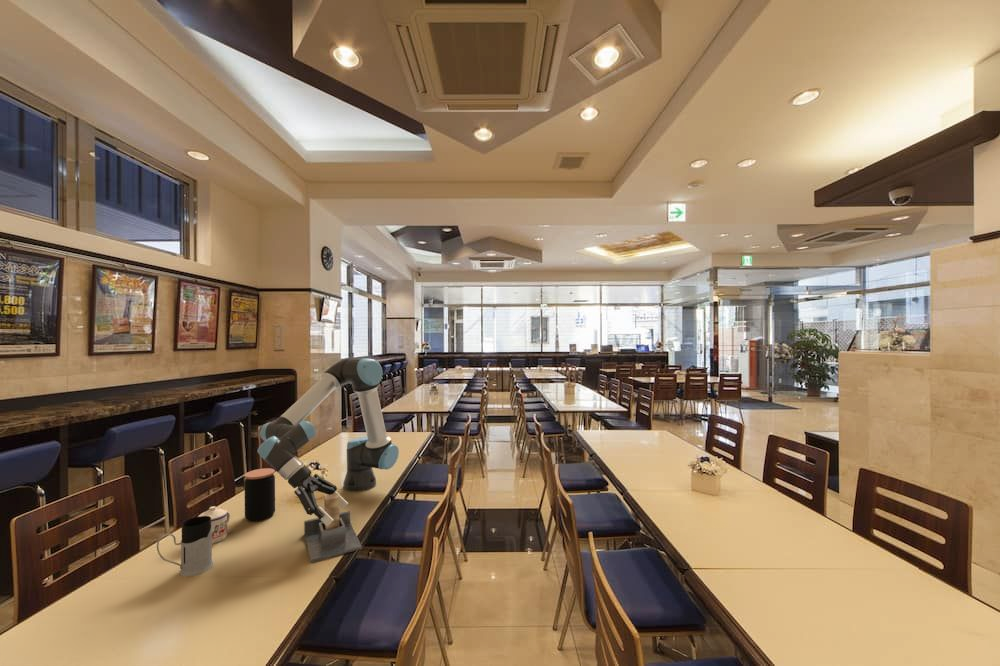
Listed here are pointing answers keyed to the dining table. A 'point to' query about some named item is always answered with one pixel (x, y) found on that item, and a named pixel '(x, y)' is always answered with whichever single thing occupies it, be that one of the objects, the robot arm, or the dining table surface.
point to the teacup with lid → (218, 523)
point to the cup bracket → (330, 538)
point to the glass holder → (194, 546)
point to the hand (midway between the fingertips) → (338, 514)
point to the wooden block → (332, 509)
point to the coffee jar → (259, 494)
